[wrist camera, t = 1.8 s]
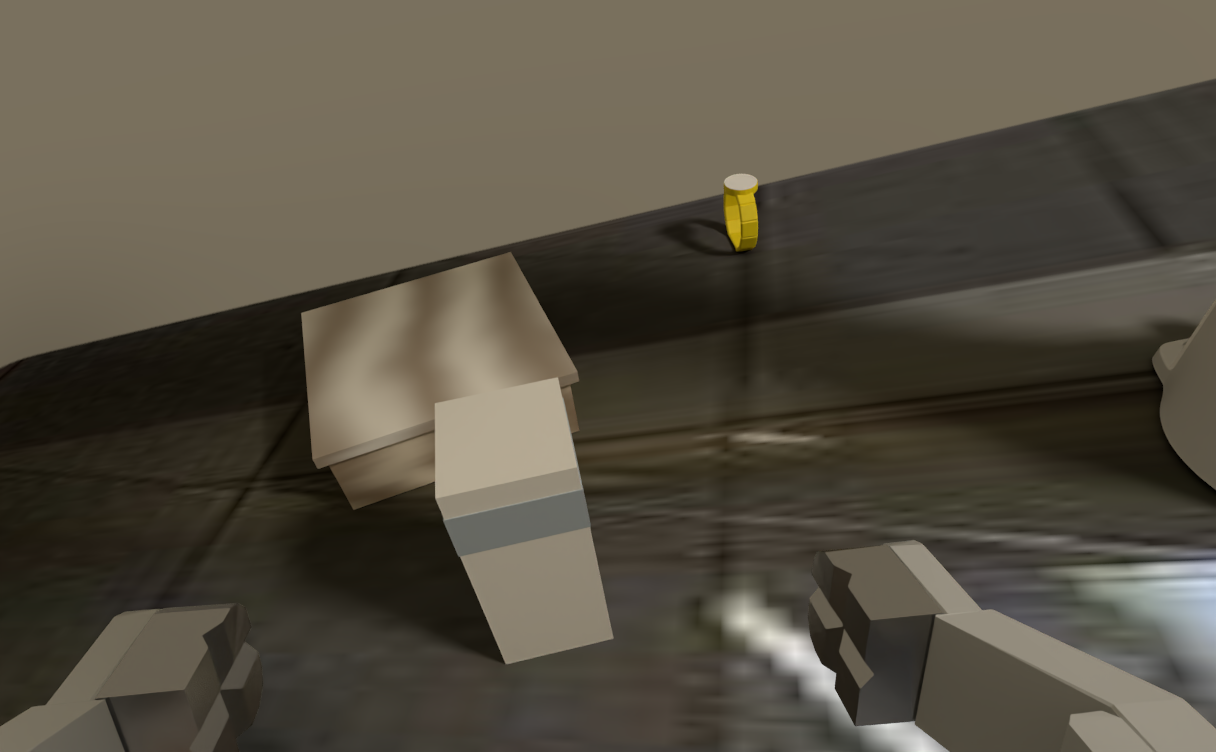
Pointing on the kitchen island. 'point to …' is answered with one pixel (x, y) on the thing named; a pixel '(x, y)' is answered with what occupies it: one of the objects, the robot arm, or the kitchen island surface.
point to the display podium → (419, 369)
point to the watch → (741, 211)
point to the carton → (520, 518)
